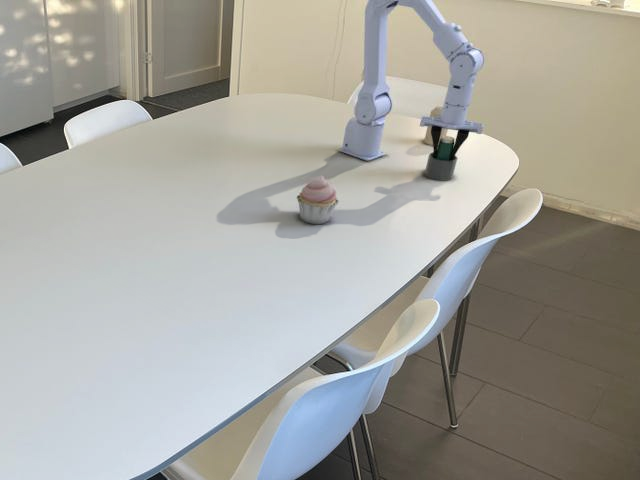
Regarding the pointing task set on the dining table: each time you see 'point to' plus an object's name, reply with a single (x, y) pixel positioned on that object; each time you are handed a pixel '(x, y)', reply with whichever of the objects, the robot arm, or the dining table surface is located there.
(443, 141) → the cylinder
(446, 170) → the cup
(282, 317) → the dining table surface
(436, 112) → the candle
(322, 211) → the cupcake
